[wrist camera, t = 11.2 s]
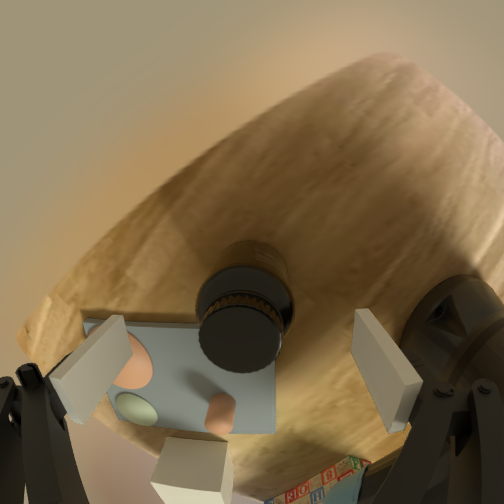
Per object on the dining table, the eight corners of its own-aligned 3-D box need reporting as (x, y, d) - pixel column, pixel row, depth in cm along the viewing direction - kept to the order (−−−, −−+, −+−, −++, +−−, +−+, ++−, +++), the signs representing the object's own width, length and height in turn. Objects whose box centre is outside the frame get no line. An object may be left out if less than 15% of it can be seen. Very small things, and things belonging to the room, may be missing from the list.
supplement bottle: (203, 255, 26) (158, 305, 15) (271, 228, 26) (276, 261, 14) (232, 317, 28) (212, 397, 16) (297, 294, 27) (317, 367, 15)
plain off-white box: (228, 441, 32) (220, 492, 23) (234, 472, 34) (228, 515, 25) (167, 436, 33) (150, 481, 24) (180, 467, 35) (168, 507, 26)
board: (273, 322, 28) (275, 349, 22) (275, 427, 31) (276, 456, 26) (84, 317, 29) (60, 336, 24) (118, 413, 32) (105, 436, 27)
